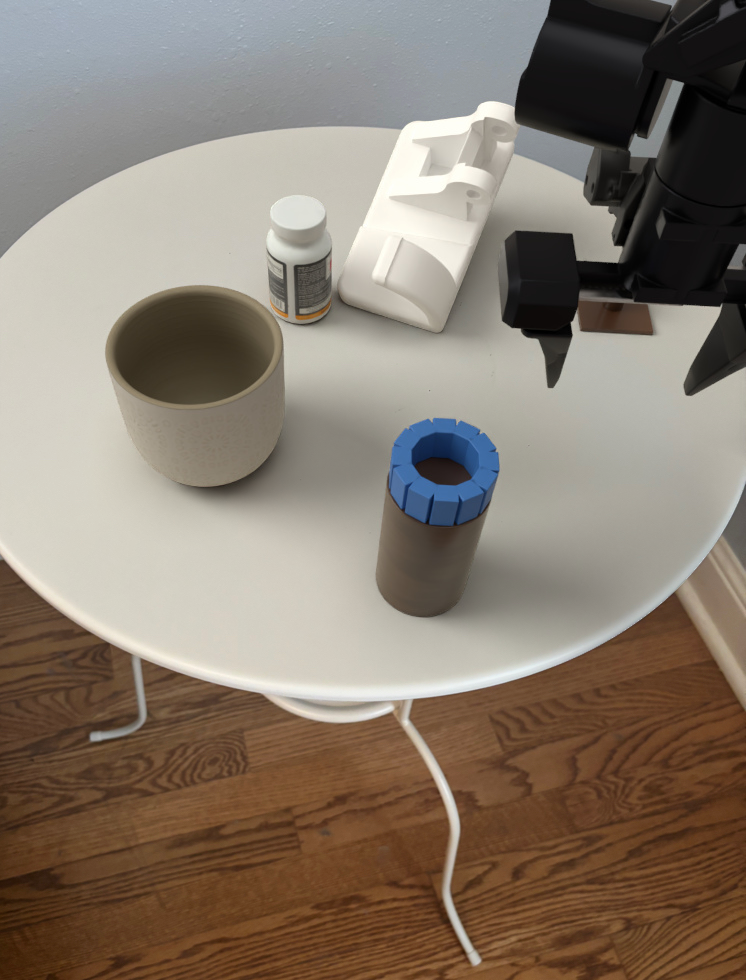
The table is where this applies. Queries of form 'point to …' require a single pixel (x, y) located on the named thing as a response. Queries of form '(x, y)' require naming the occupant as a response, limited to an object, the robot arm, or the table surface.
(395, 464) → the tape roll
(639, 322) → the peg stand
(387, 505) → the pedestal
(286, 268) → the pill bottle
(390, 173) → the tape dispenser
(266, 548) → the table surface
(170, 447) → the planter
